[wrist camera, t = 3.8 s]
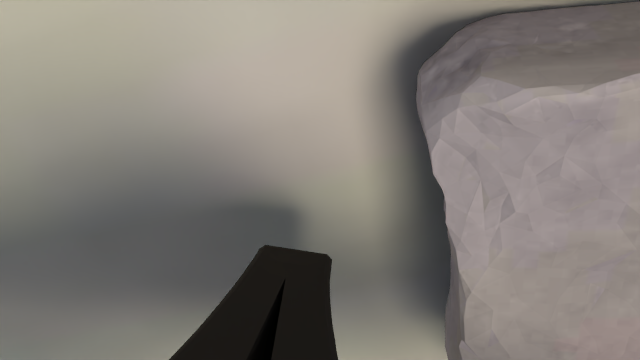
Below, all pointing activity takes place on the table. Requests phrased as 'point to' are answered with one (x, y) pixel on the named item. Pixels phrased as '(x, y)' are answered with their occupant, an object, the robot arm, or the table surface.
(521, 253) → the stone block
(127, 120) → the table surface
